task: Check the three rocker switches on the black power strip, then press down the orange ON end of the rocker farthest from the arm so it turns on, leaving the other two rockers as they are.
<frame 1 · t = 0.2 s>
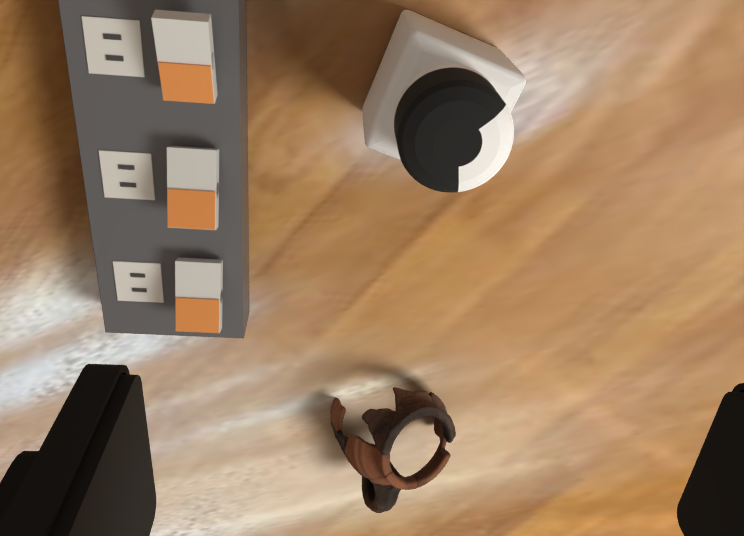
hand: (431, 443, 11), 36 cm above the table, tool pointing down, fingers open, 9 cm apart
rocker 3: (199, 295, 46), point 5 cm above the table, hinge at -15.0°
rocker 1: (186, 59, 38), point 5 cm above the table, hinge at 15.0°
medicine bottle: (430, 80, 44), on the table
power strip: (174, 157, 46), on the table
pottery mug: (385, 418, 59), on the table
rocker 2: (193, 188, 42), point 5 cm above the table, hinge at -15.0°
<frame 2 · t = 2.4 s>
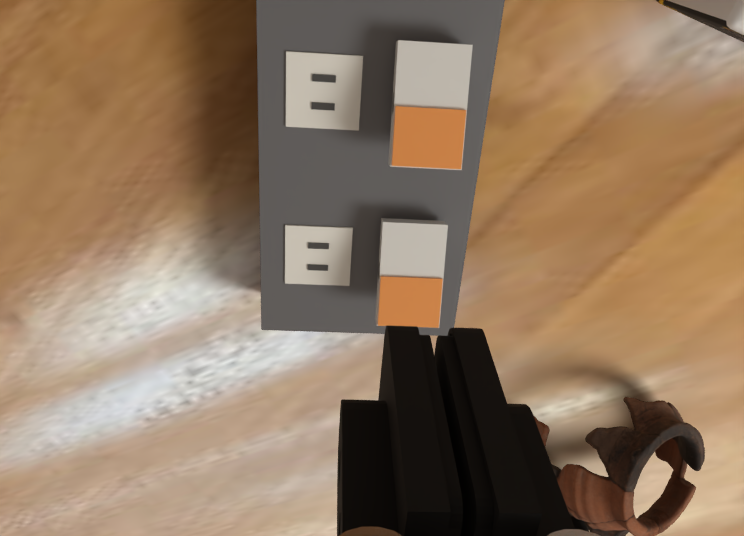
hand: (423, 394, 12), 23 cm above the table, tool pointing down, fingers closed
rocker 3: (410, 273, 32), point 5 cm above the table, hinge at -15.0°
power strip: (371, 74, 32), on the table
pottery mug: (588, 437, 45), on the table
rocker 2: (429, 106, 28), point 5 cm above the table, hinge at -15.0°
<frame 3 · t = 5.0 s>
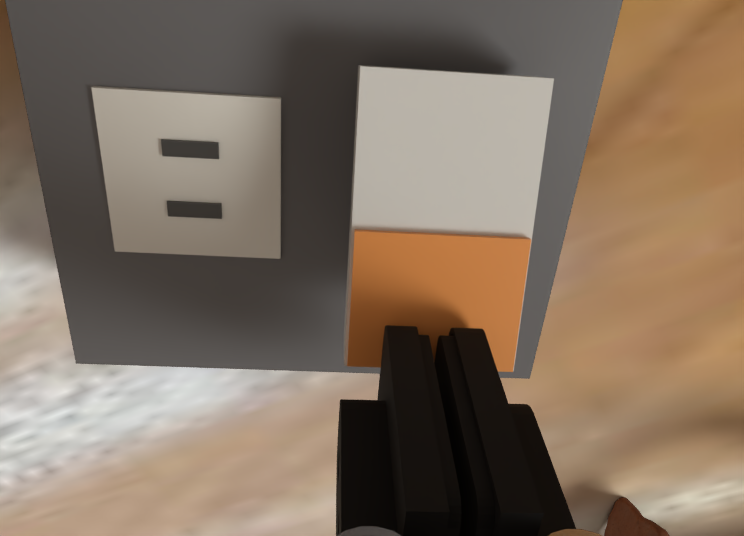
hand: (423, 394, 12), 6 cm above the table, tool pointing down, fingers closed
rocker 3: (439, 224, 11), point 5 cm above the table, hinge at -13.0°, touching gripper
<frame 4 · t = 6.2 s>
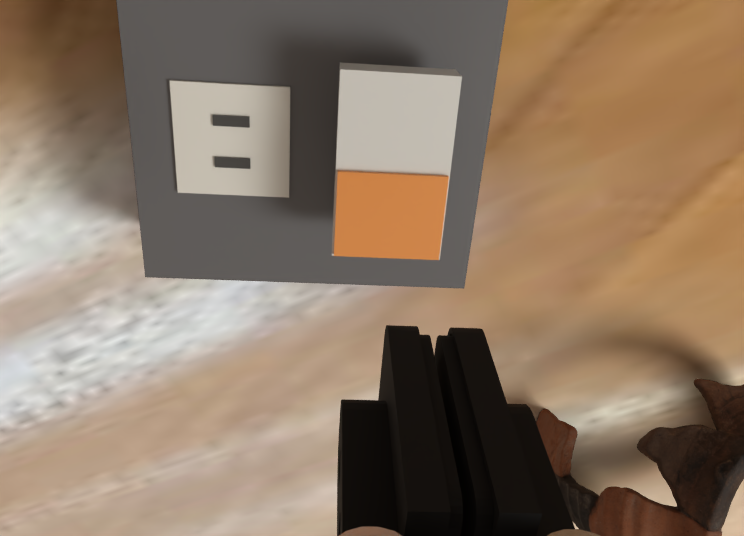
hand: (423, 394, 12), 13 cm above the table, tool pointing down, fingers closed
rocker 3: (392, 166, 18), point 5 cm above the table, hinge at -2.1°
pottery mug: (632, 445, 30), on the table
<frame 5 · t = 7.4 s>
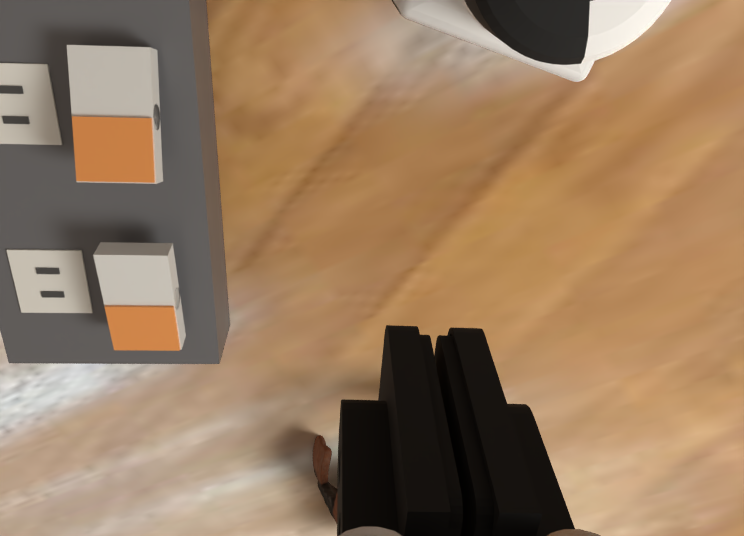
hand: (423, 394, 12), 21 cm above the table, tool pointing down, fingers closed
rocker 3: (142, 298, 29), point 5 cm above the table, hinge at 5.6°
power strip: (98, 86, 30), on the table
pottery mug: (393, 459, 41), on the table
rocker 2: (116, 116, 26), point 5 cm above the table, hinge at -15.0°
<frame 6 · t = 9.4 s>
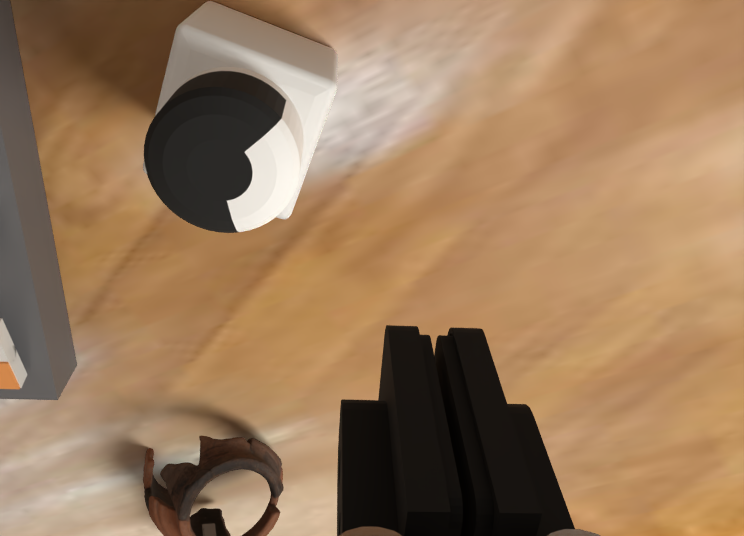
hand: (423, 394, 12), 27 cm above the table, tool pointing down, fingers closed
medicine bottle: (255, 88, 36), on the table
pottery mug: (216, 468, 50), on the table
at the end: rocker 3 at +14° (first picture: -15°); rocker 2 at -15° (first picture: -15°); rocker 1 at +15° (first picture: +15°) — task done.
